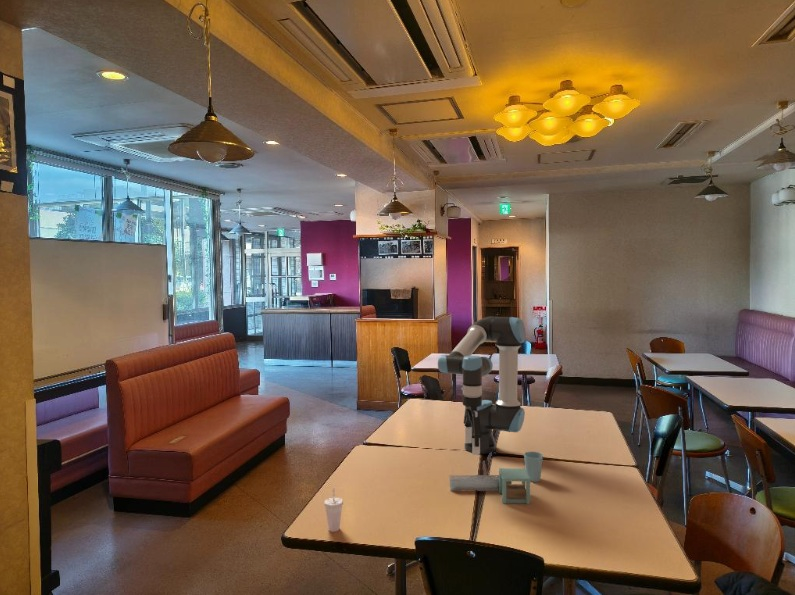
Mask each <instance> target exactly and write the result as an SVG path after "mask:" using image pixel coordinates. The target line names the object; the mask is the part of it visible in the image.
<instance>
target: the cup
mask: <svg viewBox="0 0 795 595" xmlns="http://www.w3.org/2000/svg"><path fill="white" fill-rule="evenodd" d="M523 457H524V458H523V459H524V467H525V468H524V469H525V470H526V472H527V474H528V476H529V478H530V482H533V483H534V482H535V483H536V482H537V483H538V482H540V480H541V476H542V468H543V459H544V455H543V453H541V452H537V451H527V452H524V453H523Z"/></svg>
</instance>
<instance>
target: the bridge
mask: <svg viewBox="0 0 795 595" xmlns="http://www.w3.org/2000/svg"><path fill="white" fill-rule="evenodd" d="M498 475H499V491H498V493H499V494H502V501H501V502H502V504H527V505H529V504H531V481H530V478H529V476H528V474H527V472H526V469H525V468H511V467H510V468H504V467H503V468H498ZM506 481H512V482H521V484H524V486H525V488H526V499H506Z"/></svg>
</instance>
